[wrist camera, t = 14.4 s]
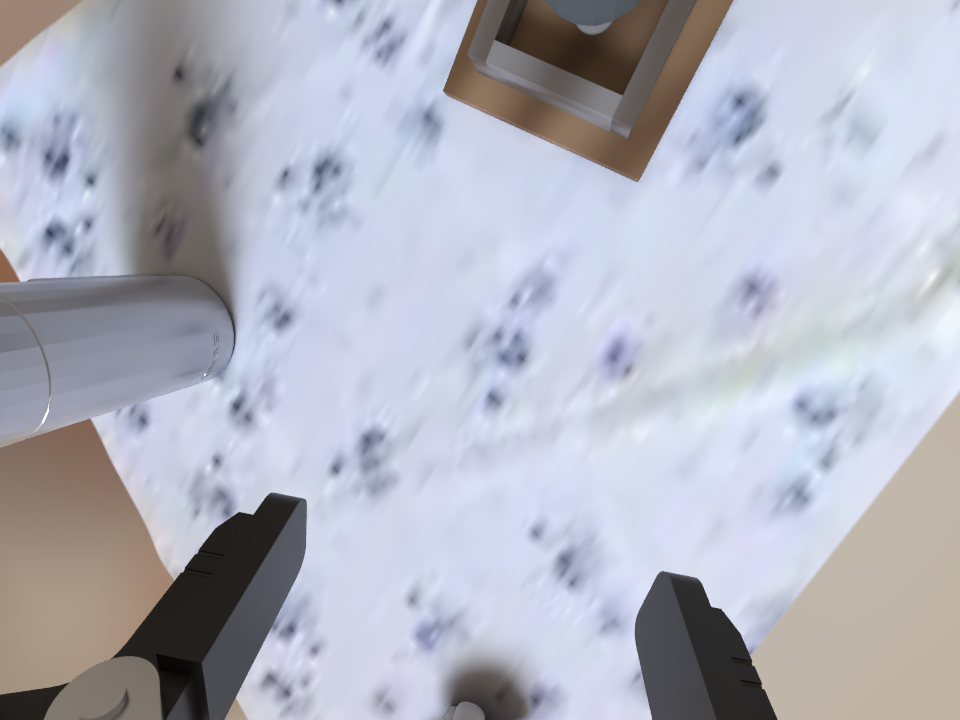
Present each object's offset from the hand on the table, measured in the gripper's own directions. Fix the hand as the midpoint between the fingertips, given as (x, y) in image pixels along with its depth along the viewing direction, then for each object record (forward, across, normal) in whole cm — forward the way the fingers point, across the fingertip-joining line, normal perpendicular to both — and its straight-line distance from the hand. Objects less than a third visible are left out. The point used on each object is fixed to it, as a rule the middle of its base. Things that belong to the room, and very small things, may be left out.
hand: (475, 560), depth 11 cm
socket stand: (+28, -2, -15) cm, 32 cm away
